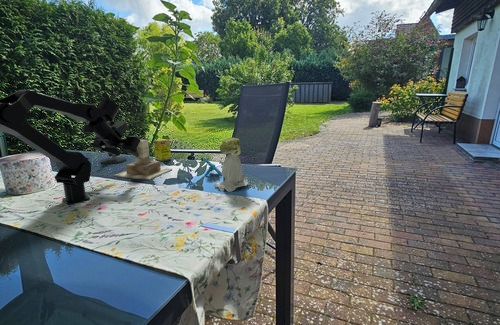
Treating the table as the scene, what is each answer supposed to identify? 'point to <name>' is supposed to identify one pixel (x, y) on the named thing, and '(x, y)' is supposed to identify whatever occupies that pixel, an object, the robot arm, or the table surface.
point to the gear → (211, 168)
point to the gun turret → (113, 159)
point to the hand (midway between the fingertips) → (128, 155)
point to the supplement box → (162, 150)
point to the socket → (143, 171)
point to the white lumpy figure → (231, 166)
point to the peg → (143, 153)
